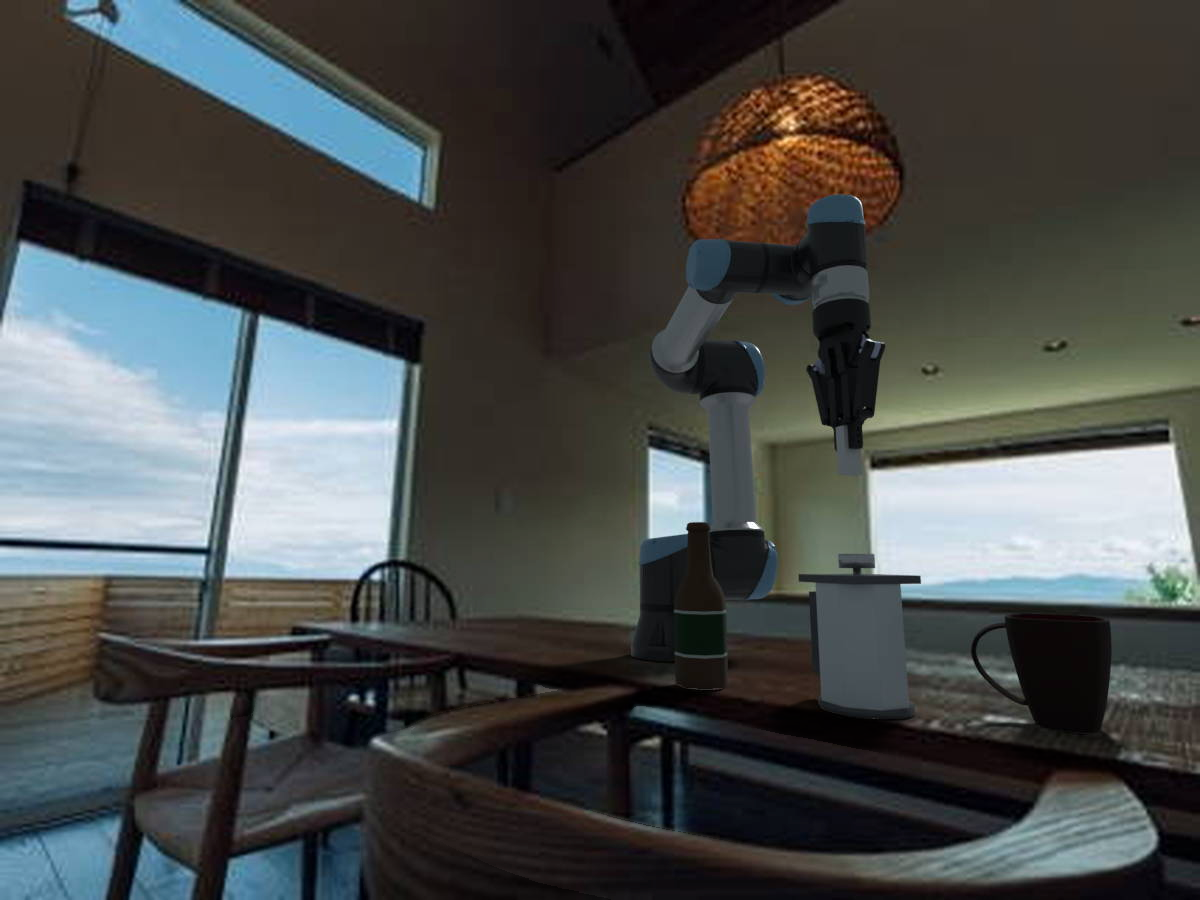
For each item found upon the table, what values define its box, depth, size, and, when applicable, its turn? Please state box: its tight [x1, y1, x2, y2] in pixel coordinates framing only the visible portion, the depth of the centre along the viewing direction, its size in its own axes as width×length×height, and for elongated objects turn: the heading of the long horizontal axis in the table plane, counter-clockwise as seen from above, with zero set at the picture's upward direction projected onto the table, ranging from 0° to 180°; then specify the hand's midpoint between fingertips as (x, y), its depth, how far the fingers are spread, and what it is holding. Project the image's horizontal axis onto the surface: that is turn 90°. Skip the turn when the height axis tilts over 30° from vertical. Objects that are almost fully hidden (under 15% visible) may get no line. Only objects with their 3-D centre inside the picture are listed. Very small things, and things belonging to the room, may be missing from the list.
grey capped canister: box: [798, 573, 922, 720], centre depth 84 cm, size 14×11×16 cm
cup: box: [970, 612, 1113, 735], centre depth 75 cm, size 10×14×12 cm
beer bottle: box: [674, 521, 729, 689], centre depth 97 cm, size 8×8×24 cm
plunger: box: [837, 553, 876, 575], centre depth 84 cm, size 4×4×9 cm
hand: (850, 474), depth 86 cm, fingers closed
